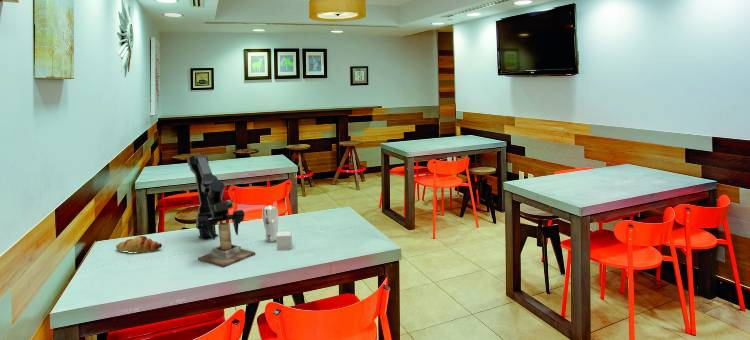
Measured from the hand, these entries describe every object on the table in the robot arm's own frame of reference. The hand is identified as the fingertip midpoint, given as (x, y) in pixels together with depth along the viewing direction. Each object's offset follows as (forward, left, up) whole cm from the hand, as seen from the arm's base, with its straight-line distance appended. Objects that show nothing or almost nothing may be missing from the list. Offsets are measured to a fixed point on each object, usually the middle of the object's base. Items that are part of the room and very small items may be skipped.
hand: (225, 236), depth 190 cm
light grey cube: (-22, +11, -9) cm, 26 cm away
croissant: (+13, -43, -10) cm, 46 cm away
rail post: (-1, -1, -8) cm, 8 cm away
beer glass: (-26, -1, -9) cm, 27 cm away
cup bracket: (-1, -1, -9) cm, 9 cm away
